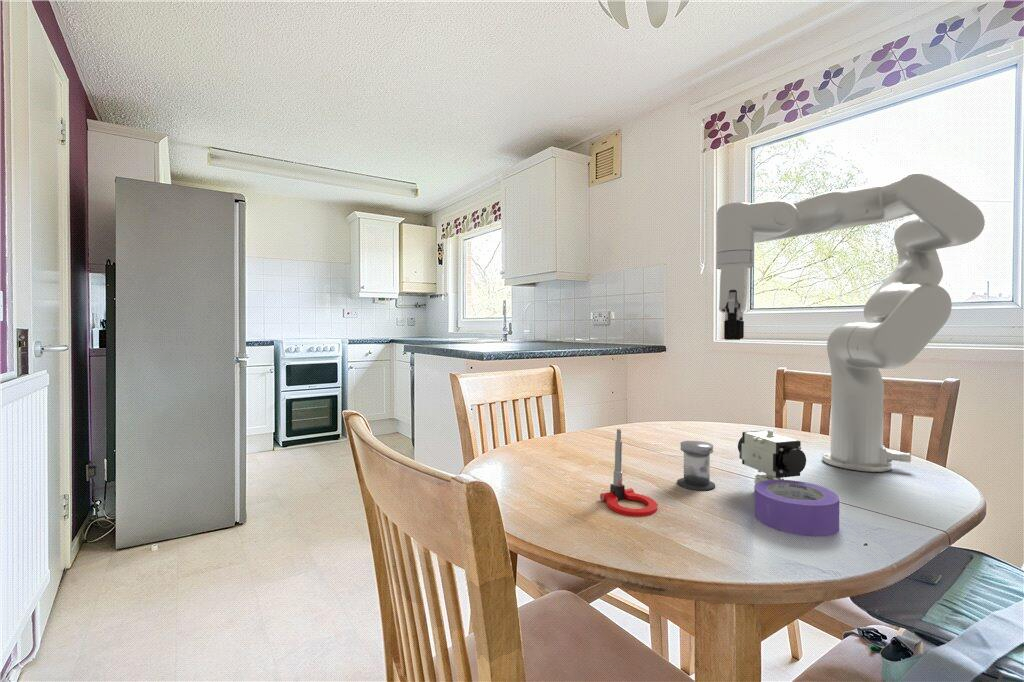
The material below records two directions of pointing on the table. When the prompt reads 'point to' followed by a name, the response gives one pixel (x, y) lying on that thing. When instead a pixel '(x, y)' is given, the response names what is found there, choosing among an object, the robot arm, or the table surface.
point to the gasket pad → (704, 488)
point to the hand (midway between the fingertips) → (734, 339)
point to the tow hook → (620, 492)
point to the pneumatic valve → (771, 455)
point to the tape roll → (797, 507)
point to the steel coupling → (696, 462)
